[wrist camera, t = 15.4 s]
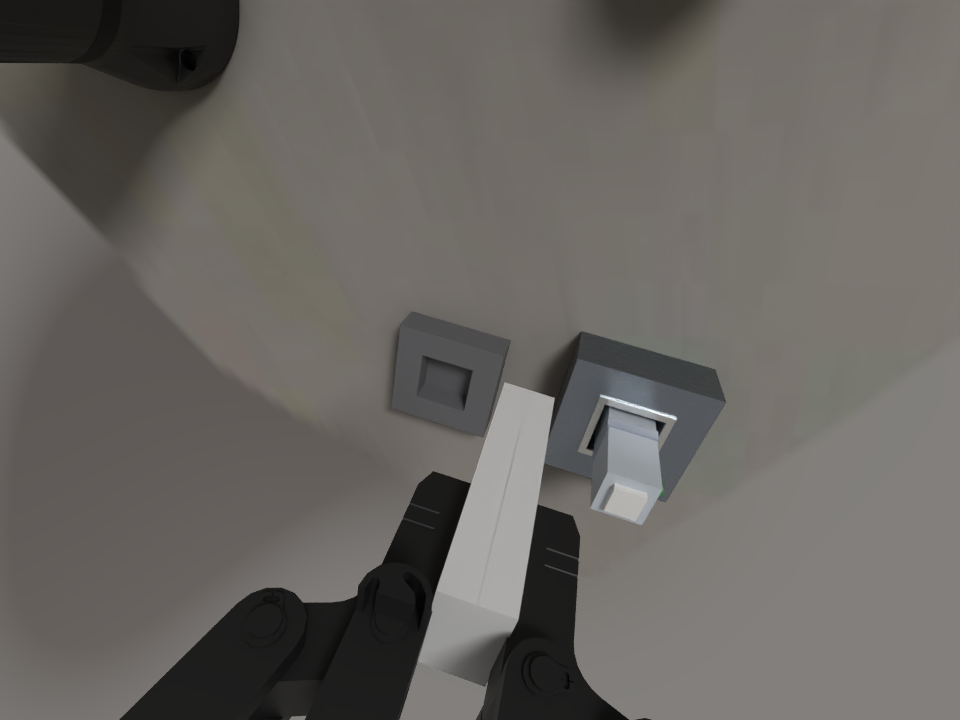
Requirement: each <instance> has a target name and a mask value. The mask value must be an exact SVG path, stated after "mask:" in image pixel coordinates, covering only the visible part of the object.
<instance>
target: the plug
mask: <svg viewBox="0 0 960 720" xmlns="http://www.w3.org/2000/svg"><path fill="white" fill-rule="evenodd" d="M658 442H659V435H658V431H656V423H655V420H654V419H651V418H648V417H644V416H641V415H638V414H634V413H631V412H628V411H624V410H621V409H618V408H615V407H611V406H608V405H604V408H603V410H602V413H601V415H600V417H599V420H598V422H597V424H596V427H595V442H594V450H593V452H592V462H593V472H592V488H591V503H590V508H591V509H594V510H597V511H600V512H603V513H606V514H609V515H612V516H615V517H618V518H621V519H624V520H627V521H630V522H633V523H637V524H640V525H642V524H643V522H644V521H645V519H646V517H647V516H648V514H649V512H650V510H651V509H652V507H653V505H654V504H655V502H656V500H657V499H658V497H659V495H660V493H661V492H662V490H663V488H662V479H661V470H660V460H659V451H658Z"/></svg>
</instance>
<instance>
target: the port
mask: <svg viewBox="0 0 960 720" xmlns="http://www.w3.org/2000/svg"><path fill="white" fill-rule="evenodd" d="M725 403H726V400H725V397H724V394H723V391H722V388H721V385H720V382H719V379H718V376H717V373H716V370H715V369H711V368H708V367H704V366H701V365H697V364H694V363H690V362H687V361H683V360H680V359H676V358H673V357H669V356H666V355H662V354H659V353H655V352H652V351H648V350H645V349H641V348H638V347H634V346H631V345H627V344H624V343H620V342H617V341H613V340H610V339H606V338H603V337H600V336H596V335H593V334H589V333H586V332H581V335H580V337H579V340H578V343H577V346H576V349H575V352H574V354H573V357H572V360H571V363H570V366H569V369H568V371H567V374H566V377H565V380H564V383H563V386H562V388H561V391H560V394H559V397H558V400H557V403H556V405H555V408H554V411H553V414H552V417H551V424H550V430H549V436H548V442H547V448H546V454H545V460H544V464H547V465H550V466H553V467H557V468H560V469H563V470H566V471H569V472H572V473H575V474H578V475H582V476H585V477H588V478H591V479H592V472H593V462H592V452H593V450H594V442H595V427H596V424H597V422H598V420H599V417H600V415H601V413H602V410H603V408H604V405H608V406H611V407H615V408H618V409H621V410H624V411H628V412H631V413H634V414H638V415H641V416H644V417H648V418H651V419H654V420H655V423H656V431H658V435H659V442H658V451H659V460H660V470H661V479H662V488H663V490H662V492H661V493H660V495H659V497H658V499H657V500H660V501H663V502H666V501H667V499H668V498H669V496H670V494H671V493H672V491H673V489H674V488H675V486H676V484H677V483H678V481H679V480H680V478H681V476H682V475H683V473H684V471H685V470H686V468H687V466H688V465H689V463H690V461H691V460H692V458H693V456H694V455H695V453H696V451H697V450H698V448H699V446H700V445H701V443H702V441H703V440H704V438H705V437H706V435H707V433H708V432H709V430H710V428H711V427H712V425H713V423H714V422H715V420H716V418H717V417H718V415H719V413H720V412H721V410H722V408H723V407H724V405H725Z"/></svg>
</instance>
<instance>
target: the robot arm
mask: <svg viewBox="0 0 960 720" xmlns="http://www.w3.org/2000/svg"><path fill="white" fill-rule="evenodd" d="M238 20H239V0H0V63H77V64H83V65H86V66H88V67H91V68H94V69H96V70H99V71H101V72H104V73H107V74H109V75H112V76H115V77H117V78H120V79H122V80H125V81H128V82H130V83H133V84H135V85H138V86H141V87H144V88H148V89H153V90H160V91H183V90H192V89H196V88H199V87H202V86H204V85H206V84H208V83H209V82H211V81H212V80H213V79H214V78H216V77H217V76H218V75H219V73H220V72H221V71H222V70H223V68H224V67H225V65H226V64H227V62H228V60H229V58H230V56H231V53H232V50H233V48H234V44H235V40H236V36H237V30H238ZM554 399H555V398H553V397H550V396H547V395H544V394H540V393H537V392H534V391H531V390H527V389H524V388H521V387H518V386H515V385H511V384H508V383H504V386H503V389H502V392H501V395H500V398H499V401H498V404H497V407H496V410H495V413H494V416H493V419H492V422H491V426H490V429H489V432H488V435H487V438H486V441H485V444H484V447H483V450H482V453H481V456H480V459H479V462H478V465H477V468H476V471H475V474H474V477H473V480H472V483H471V484H470V483H467V482H464V481H461V480H458V479H455V478H452V477H449V476H446V475H443V474H440V473H437V472H434V471H433V472H432V473H431V474H430V475H428V476H427V477H426V478H425V479H424V480H423V481H421V482H420V483H419V484H418V486H417V488H416V490H415V493H414V495H413V497H412V499H411V502H410V504H409V506H408V508H407V510H406V512H405V515H404V517H403V520H402V521H401V523H400V526H399V528H398V530H397V532H396V534H395V536H394V539H393V541H392V543H391V545H390V548H389V550H388V552H387V554H386V556H385V558H384V561H383V563H382V565H380V566H378V567H376V568H375V569H373V570H372V571H370V572H369V573H367V575H366V576H365V577H364V579H363V580H362V581H361V583H360V584H359V586H358V595H357V596H356V597H354V598H351V599H348V600H345V601H341V602H332V603H303V602H302V601H301V600H300V599H299V598H298V596H297V595H296V594H295V593H293V592H291V591H288V590H286V589H283V588H265V589H262V590H259V591H256V592H254V593H251V594H250V595H248V596H247V597H246V598H244V599H243V600H241V601H240V602H239V603H237V604H236V605H235V606H234V607H233V608H232V609H231V610H230V611H229V612H228V613H227V614H226V615H225V616H224V617H223V618H222V619H221V620H220V621H219V622H218V623H217V624H216V625H215V626H214V627H213V628H212V629H211V630H210V631H209V632H208V633H207V634H206V635H205V636H204V637H203V638H202V639H201V640H200V641H199V642H198V643H197V644H196V645H195V646H194V647H193V648H192V649H191V650H190V651H188V652H187V653H186V654H185V656H183V658H181V660H179V661H178V662H177V663H176V664H175V665H174V666H173V667H172V668H171V669H170V670H169V671H168V672H167V673H166V674H165V675H164V676H163V677H162V678H161V679H160V680H159V681H158V682H157V683H156V684H155V685H154V686H153V687H152V688H151V689H150V690H149V691H148V692H147V693H146V694H145V695H144V696H143V697H142V698H141V699H140V700H139V701H138V702H137V703H136V704H135V705H134V706H133V707H132V708H131V709H130V710H129V711H128V712H127V713H126V714H125V715H124V716H123V717H122V718H121V719H120V720H289V719H290V718H291V717H292V716H306V719H305V720H399V719H400V716H401V712H402V710H403V707H404V703H405V700H406V697H407V694H408V690H409V687H410V683H411V680H412V677H413V674H414V671H415V668H416V665H417V662H419V663H422V664H425V665H427V666H430V667H432V668H435V669H438V670H441V671H444V672H446V673H449V674H452V675H454V676H457V677H460V678H463V679H466V680H468V681H471V682H474V683H477V684H479V685H482V686H486V684H487V682H488V685H487V690H486V695H485V701H484V705H483V707H482V709H481V711H480V713H479V715H478V717H477V719H476V720H629V719H627V718H626V717H625V716H623V715H622V714H621V713H620V712H618V711H617V710H616V709H615V708H613V707H612V706H611V705H609V704H608V703H607V702H606V701H604V700H603V699H602V698H601V697H599V696H598V695H597V694H596V693H595V692H594V691H593V690H592V689H591V688H590V686H589V685H588V684H587V682H586V681H585V679H584V678H583V676H582V674H581V672H580V670H579V668H578V665H577V662H576V658H575V654H574V629H575V612H576V597H577V580H578V579H577V575H578V564H579V561H578V558H579V547H580V535H579V532H578V529H577V526H576V524H575V521H574V518H573V516H571V515H568V514H565V513H562V512H559V511H556V510H553V509H550V508H547V507H544V506H541V505H538V504H537V503H538V497H539V491H540V485H541V479H542V473H543V466H544V460H545V454H546V448H547V442H548V436H549V430H550V424H551V417H552V411H553V405H554ZM637 720H650V719H646V718H643V719H637Z"/></svg>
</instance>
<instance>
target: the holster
mask: <svg viewBox="0 0 960 720" xmlns="http://www.w3.org/2000/svg"><path fill="white" fill-rule="evenodd" d="M509 345H510V340H507V339H503V338H500V337H496V336H493V335H490V334H486V333H483V332H479V331H476V330H473V329H469V328H466V327H462V326H459V325H456V324H452V323H449V322H445V321H442V320H439V319H435V318H432V317H428V316H425V315H422V314H418V313H415V312H411V313H410V315H409V316H408V317H407V318H406V319H405V320H404V321H403V322H402V324H401V325H400V331H399V341H398V350H397V359H396V368H395V377H394V386H393V396H392V405H391V408H392V409H395V410H398V411H402V412H405V413H408V414H411V415H414V416H417V417H420V418H423V419H427V420H430V421H433V422H436V423H439V424H442V425H445V426H449V427H452V428H455V429H458V430H461V431H464V432H467V433H471V434H474V435H477V436H480V437H484V434H485V431H486V429H487V426H488V423H489V421H490V417H491V414H492V410H493V406H494V402H495V398H496V394H497V391H498V387H499V383H500V379H501V375H502V372H503V368H504V364H505V360H506V356H507V352H508V349H509Z"/></svg>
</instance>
